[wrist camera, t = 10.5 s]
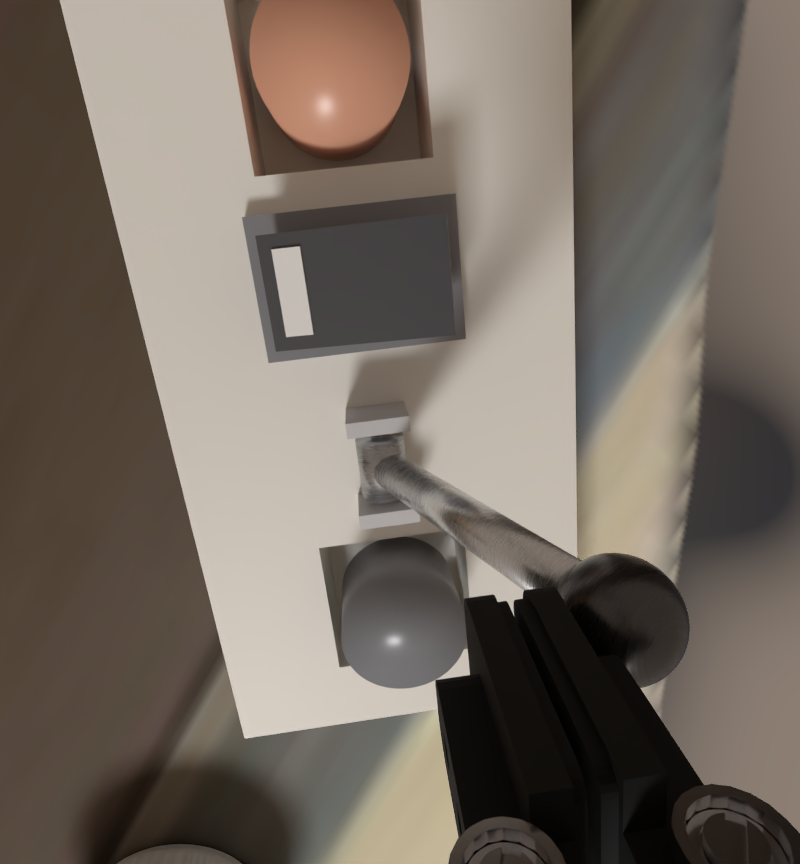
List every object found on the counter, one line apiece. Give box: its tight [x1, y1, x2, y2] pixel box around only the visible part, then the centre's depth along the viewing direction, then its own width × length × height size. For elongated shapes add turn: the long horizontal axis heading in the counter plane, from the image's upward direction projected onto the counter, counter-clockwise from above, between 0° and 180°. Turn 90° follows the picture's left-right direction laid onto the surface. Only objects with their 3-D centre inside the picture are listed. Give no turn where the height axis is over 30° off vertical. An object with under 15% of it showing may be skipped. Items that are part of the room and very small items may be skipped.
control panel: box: [60, 0, 577, 738], centre depth 20 cm, size 29×14×6 cm, turn 6°
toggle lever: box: [355, 432, 690, 688], centre depth 15 cm, size 2×2×12 cm
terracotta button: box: [249, 0, 410, 161], centre depth 17 cm, size 4×4×3 cm
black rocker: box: [255, 213, 456, 352], centre depth 16 cm, size 3×5×1 cm, turn 96°
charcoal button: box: [341, 537, 467, 689], centre depth 22 cm, size 4×4×3 cm
